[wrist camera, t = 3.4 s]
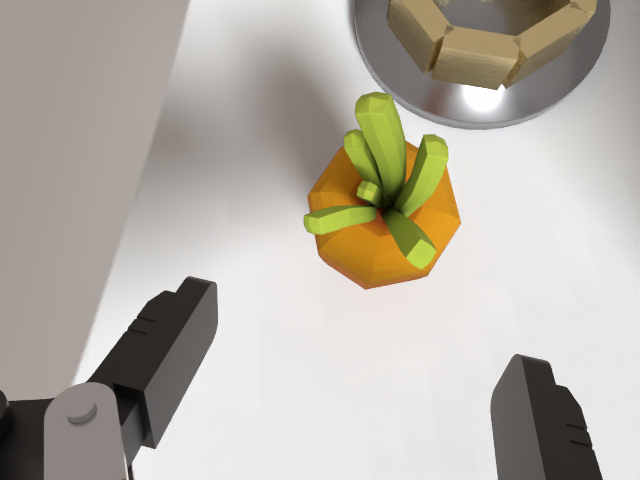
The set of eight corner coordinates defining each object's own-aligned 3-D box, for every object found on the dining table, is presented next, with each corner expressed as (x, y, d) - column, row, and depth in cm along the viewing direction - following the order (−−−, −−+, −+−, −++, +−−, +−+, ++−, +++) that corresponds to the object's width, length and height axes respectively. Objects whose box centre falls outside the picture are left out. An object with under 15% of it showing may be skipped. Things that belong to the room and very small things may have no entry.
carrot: (407, 308, 24) (500, 295, 9) (315, 289, 24) (260, 249, 9) (423, 217, 24) (532, 68, 10) (333, 201, 25) (308, 36, 10)
